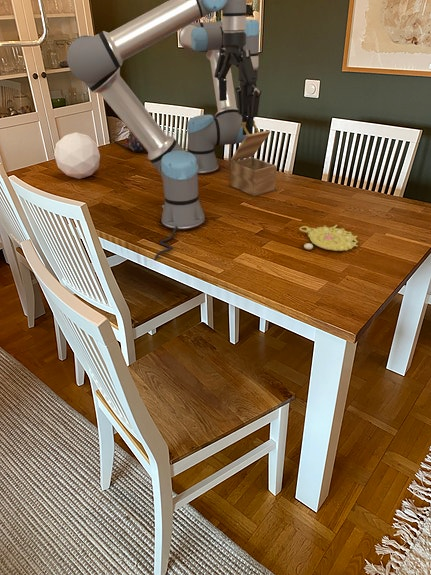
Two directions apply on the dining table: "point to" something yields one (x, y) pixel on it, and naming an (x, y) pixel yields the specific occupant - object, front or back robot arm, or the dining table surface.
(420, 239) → the dining table surface
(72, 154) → the sphere
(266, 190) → the chest
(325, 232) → the decorative object
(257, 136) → the lid
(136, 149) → the athletic shoe
